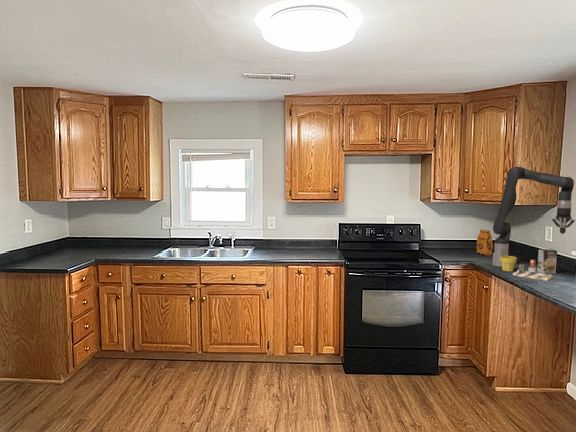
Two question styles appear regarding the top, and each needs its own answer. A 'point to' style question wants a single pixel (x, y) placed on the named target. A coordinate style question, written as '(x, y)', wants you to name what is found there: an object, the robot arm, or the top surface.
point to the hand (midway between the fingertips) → (562, 233)
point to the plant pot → (508, 262)
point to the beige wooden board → (534, 275)
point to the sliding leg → (532, 267)
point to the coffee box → (547, 261)
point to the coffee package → (484, 242)
